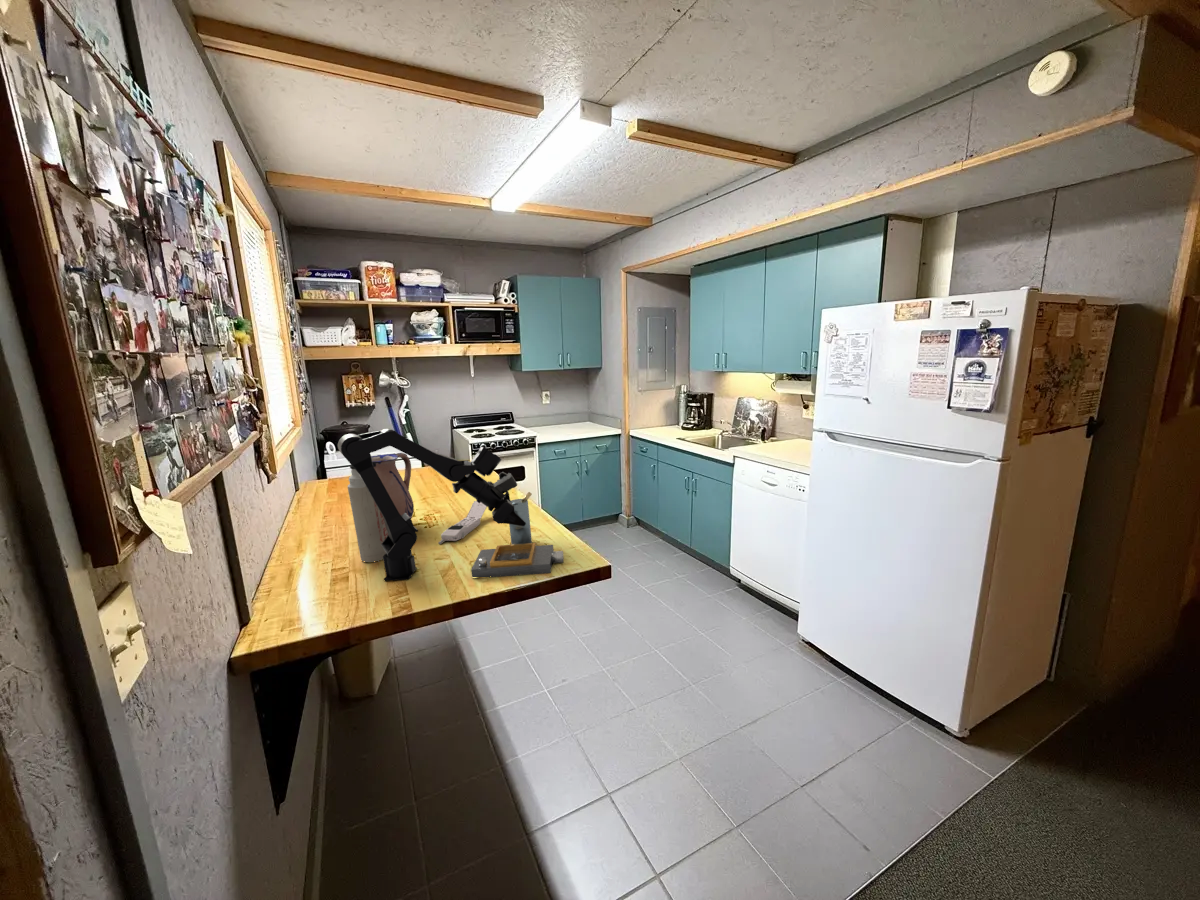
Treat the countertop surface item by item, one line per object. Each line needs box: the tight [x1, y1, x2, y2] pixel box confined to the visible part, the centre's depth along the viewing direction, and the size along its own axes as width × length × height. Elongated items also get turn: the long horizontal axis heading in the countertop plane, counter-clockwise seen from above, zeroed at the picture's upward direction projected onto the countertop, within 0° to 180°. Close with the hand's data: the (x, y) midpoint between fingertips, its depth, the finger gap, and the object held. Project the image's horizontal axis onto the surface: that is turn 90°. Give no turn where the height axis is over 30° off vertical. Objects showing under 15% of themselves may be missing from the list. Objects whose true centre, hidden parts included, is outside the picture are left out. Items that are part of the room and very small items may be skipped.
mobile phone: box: [438, 500, 488, 545], centre depth 154 cm, size 6×6×25 cm
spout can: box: [508, 491, 533, 545], centre depth 139 cm, size 7×6×16 cm
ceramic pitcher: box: [371, 452, 415, 519], centre depth 156 cm, size 18×21×25 cm
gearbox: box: [470, 542, 565, 578], centre depth 126 cm, size 23×12×4 cm, turn 92°
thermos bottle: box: [347, 464, 388, 563], centre depth 134 cm, size 8×8×28 cm
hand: (522, 519), depth 139 cm, fingers open, 9 cm apart
